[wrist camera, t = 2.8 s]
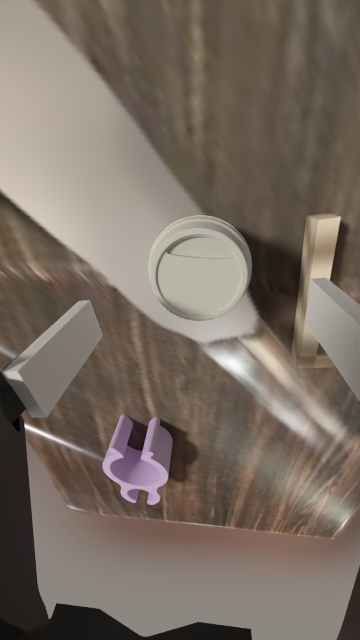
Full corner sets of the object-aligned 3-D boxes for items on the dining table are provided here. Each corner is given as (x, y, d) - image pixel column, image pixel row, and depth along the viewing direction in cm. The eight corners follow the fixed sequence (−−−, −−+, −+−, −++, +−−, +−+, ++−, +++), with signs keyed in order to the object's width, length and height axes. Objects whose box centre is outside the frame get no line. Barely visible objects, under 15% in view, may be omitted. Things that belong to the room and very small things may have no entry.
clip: (174, 472, 56) (170, 507, 50) (123, 467, 57) (113, 500, 51) (171, 417, 46) (166, 453, 40) (109, 412, 47) (95, 446, 41)
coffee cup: (254, 234, 27) (281, 268, 17) (207, 289, 31) (207, 343, 21) (194, 185, 25) (185, 190, 15) (153, 250, 29) (123, 288, 19)
